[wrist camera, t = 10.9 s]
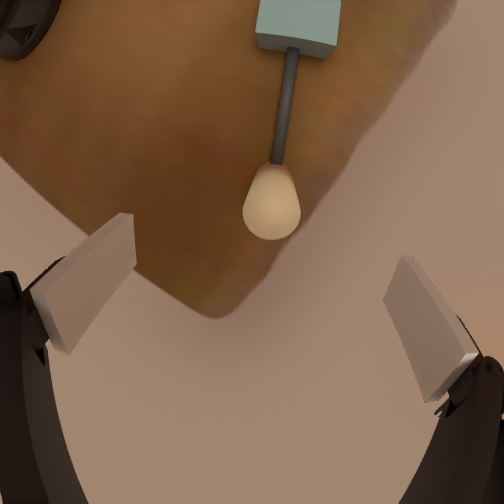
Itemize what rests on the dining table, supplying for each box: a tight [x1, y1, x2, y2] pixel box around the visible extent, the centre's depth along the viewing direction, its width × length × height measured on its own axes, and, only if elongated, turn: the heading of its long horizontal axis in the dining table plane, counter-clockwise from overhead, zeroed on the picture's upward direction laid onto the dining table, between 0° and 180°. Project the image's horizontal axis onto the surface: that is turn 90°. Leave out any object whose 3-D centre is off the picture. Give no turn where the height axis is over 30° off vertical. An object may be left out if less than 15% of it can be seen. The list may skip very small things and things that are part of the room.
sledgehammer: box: [243, 0, 341, 240], centre depth 20 cm, size 7×24×12 cm, turn 172°
